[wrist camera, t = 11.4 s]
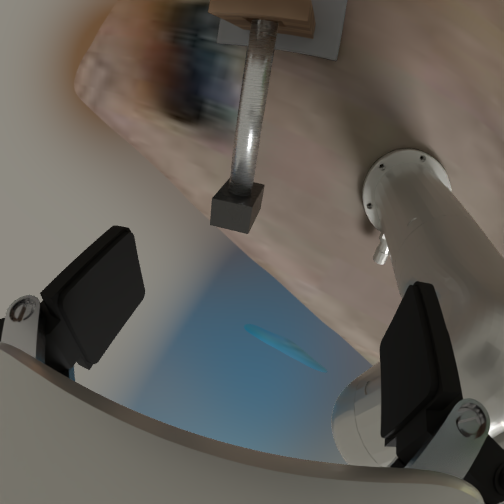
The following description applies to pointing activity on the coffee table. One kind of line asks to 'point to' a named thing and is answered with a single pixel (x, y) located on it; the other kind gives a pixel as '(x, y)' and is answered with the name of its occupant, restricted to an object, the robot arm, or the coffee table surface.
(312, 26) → the stand
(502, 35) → the coffee table surface
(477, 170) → the coffee table surface
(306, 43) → the base board
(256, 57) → the shaft
